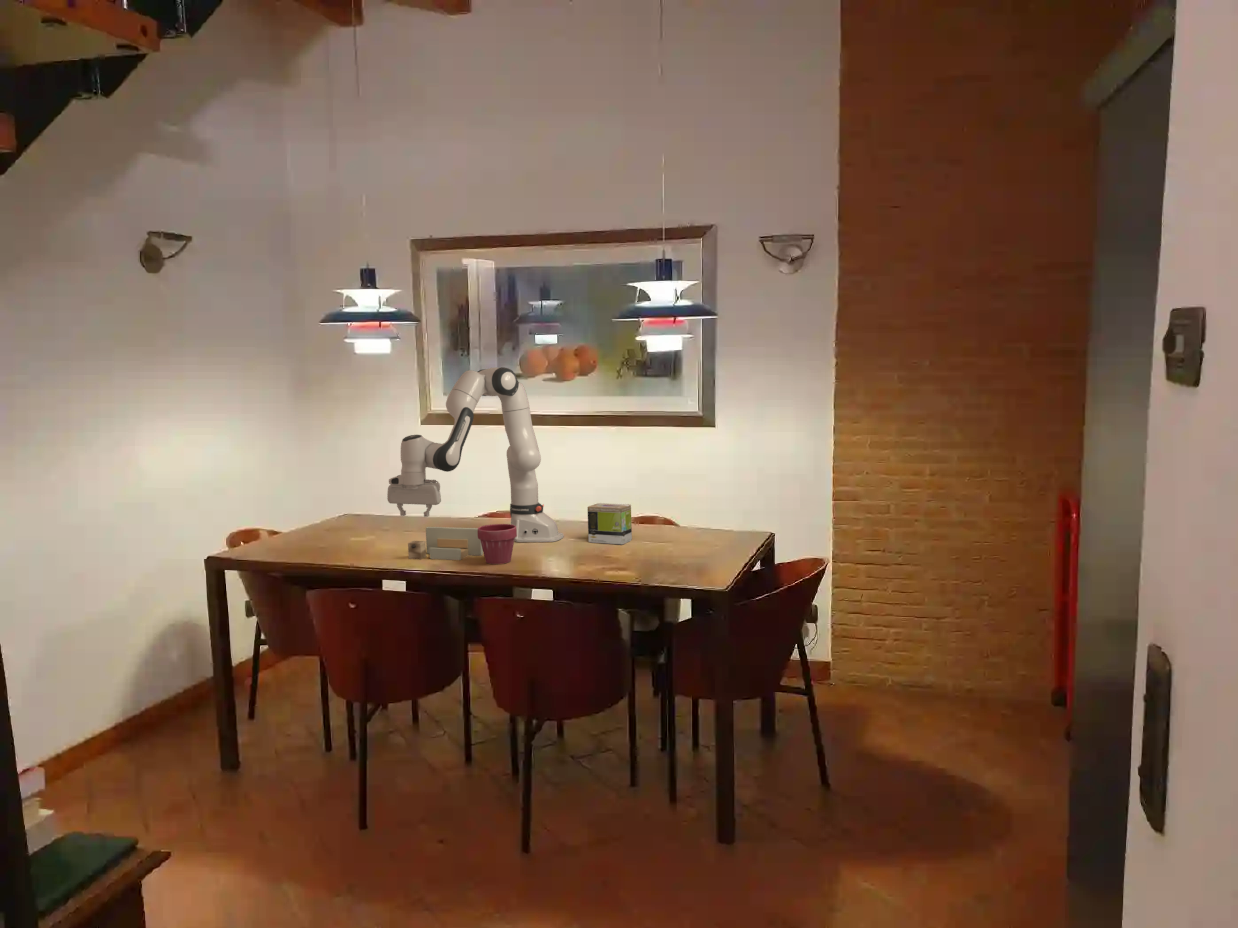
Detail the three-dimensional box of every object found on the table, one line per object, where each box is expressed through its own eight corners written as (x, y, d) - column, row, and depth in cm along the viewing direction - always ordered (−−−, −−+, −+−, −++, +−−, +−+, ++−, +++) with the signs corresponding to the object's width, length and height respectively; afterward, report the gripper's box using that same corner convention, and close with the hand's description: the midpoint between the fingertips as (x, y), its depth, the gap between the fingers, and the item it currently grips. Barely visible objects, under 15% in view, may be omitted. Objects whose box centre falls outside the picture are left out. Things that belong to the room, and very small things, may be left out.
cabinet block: (426, 556, 349) (425, 541, 348) (419, 560, 344) (419, 544, 343) (413, 556, 350) (413, 540, 349) (407, 559, 345) (406, 543, 344)
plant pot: (480, 557, 346) (479, 523, 344) (518, 556, 347) (517, 522, 345) (477, 566, 331) (475, 531, 330) (516, 565, 332) (515, 530, 331)
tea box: (632, 540, 372) (631, 503, 370) (622, 545, 363) (621, 508, 361) (598, 537, 378) (597, 501, 376) (587, 542, 369) (586, 505, 367)
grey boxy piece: (483, 554, 351) (482, 528, 350) (472, 560, 341) (471, 533, 340) (429, 552, 356) (427, 526, 355) (417, 558, 346) (416, 531, 345)
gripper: (443, 478, 344) (444, 515, 346) (392, 477, 349) (394, 513, 351) (436, 481, 338) (437, 518, 340) (384, 479, 343) (386, 516, 345)
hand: (414, 516), depth 345 cm, fingers open, 8 cm apart
